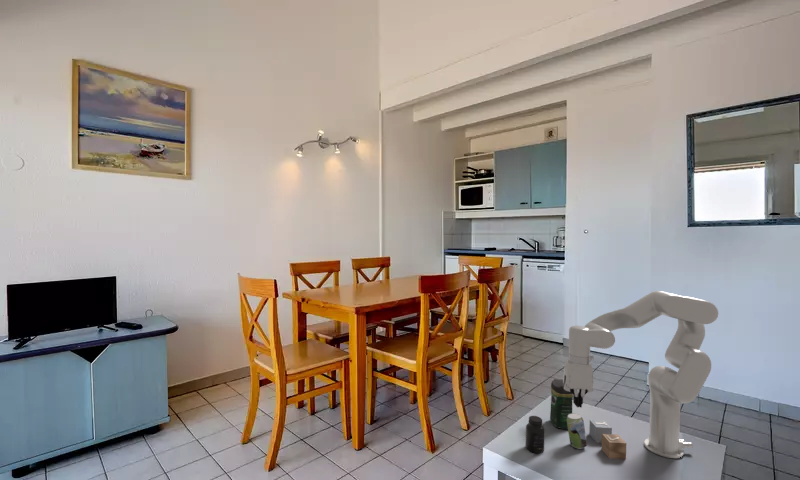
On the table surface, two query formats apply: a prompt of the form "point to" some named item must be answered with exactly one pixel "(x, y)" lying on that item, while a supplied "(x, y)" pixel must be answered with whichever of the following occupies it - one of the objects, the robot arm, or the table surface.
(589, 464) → the table surface
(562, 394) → the coffee jar
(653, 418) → the robot arm
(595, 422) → the slate digit block
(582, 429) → the beverage can
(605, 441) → the walnut digit block
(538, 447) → the supplement bottle
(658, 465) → the table surface
